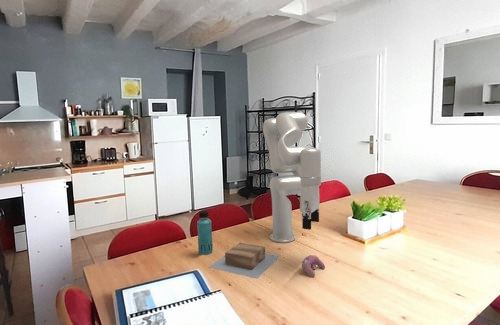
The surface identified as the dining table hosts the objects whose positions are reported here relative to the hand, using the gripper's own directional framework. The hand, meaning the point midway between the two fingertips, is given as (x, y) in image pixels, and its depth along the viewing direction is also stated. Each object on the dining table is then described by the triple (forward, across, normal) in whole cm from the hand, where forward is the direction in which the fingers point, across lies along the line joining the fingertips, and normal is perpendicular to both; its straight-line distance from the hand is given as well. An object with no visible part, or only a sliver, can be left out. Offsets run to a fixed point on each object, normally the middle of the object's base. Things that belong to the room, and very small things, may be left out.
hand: (311, 225), depth 124 cm
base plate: (+18, +6, -26) cm, 32 cm away
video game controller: (+19, 0, +1) cm, 19 cm away
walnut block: (+17, +6, -26) cm, 32 cm away
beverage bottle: (+18, +5, -47) cm, 51 cm away
